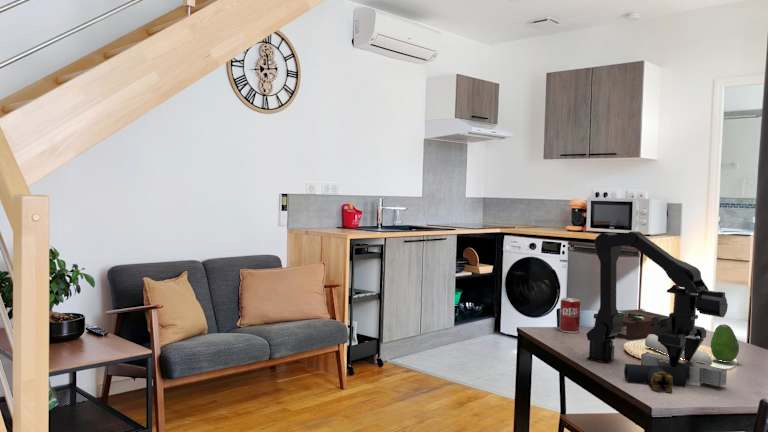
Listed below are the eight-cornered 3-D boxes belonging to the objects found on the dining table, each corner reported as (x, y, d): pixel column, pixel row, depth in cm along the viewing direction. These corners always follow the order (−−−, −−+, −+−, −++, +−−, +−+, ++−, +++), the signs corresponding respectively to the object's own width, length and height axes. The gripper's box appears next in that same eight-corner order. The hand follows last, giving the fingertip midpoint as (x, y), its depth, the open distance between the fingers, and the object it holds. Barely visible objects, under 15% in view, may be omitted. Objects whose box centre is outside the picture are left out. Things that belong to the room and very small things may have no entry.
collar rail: (657, 378, 176) (658, 359, 176) (664, 372, 183) (665, 354, 182) (699, 386, 170) (700, 367, 169) (706, 380, 176) (707, 361, 176)
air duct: (726, 384, 169) (726, 368, 169) (720, 386, 167) (721, 371, 166) (646, 365, 186) (647, 351, 186) (640, 367, 183) (641, 353, 183)
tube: (718, 356, 188) (659, 336, 212) (704, 351, 187) (647, 332, 211) (712, 373, 188) (654, 351, 212) (699, 368, 186) (642, 346, 210)
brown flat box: (683, 316, 234) (629, 321, 219) (682, 336, 234) (627, 343, 220) (640, 306, 251) (587, 311, 236) (639, 325, 251) (586, 331, 237)
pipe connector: (694, 376, 162) (634, 372, 164) (694, 396, 162) (633, 391, 165) (680, 365, 173) (624, 361, 176) (679, 384, 174) (623, 379, 176)
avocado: (704, 359, 199) (706, 322, 199) (725, 358, 201) (727, 321, 200) (722, 366, 191) (724, 327, 191) (744, 365, 193) (746, 327, 193)
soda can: (581, 333, 230) (583, 301, 230) (562, 333, 230) (563, 300, 230) (576, 329, 237) (577, 298, 237) (557, 328, 238) (558, 297, 237)
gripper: (670, 302, 188) (666, 353, 189) (641, 308, 175) (637, 363, 176) (708, 309, 179) (704, 362, 180) (681, 316, 167) (677, 373, 168)
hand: (680, 364), depth 176 cm, fingers open, 9 cm apart
